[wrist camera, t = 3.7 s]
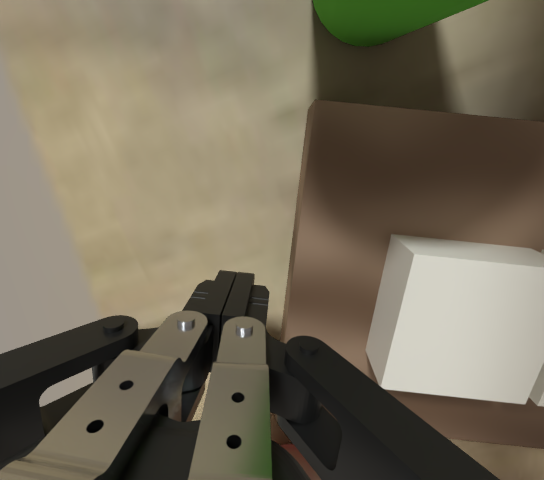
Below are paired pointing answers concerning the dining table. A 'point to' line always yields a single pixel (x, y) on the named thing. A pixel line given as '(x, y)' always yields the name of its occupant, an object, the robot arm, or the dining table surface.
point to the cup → (383, 17)
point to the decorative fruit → (301, 461)
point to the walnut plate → (408, 229)
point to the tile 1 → (459, 319)
